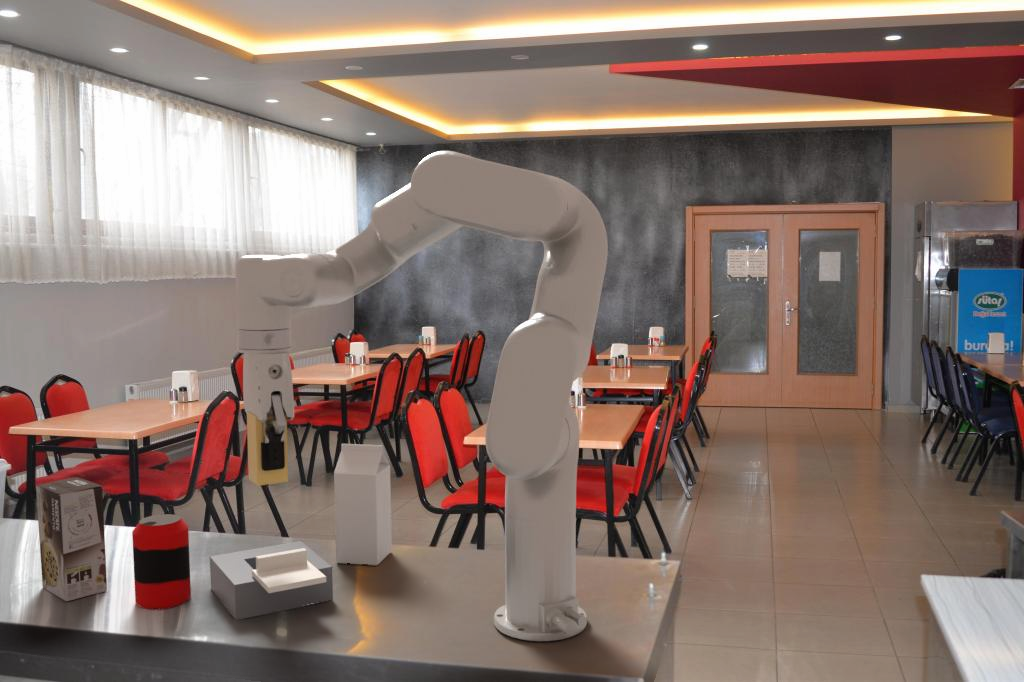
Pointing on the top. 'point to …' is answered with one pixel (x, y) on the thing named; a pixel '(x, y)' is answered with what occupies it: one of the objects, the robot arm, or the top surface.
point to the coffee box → (72, 538)
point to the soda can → (161, 562)
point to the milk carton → (362, 505)
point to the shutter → (286, 571)
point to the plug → (254, 454)
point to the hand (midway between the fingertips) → (267, 464)
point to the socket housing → (247, 593)
